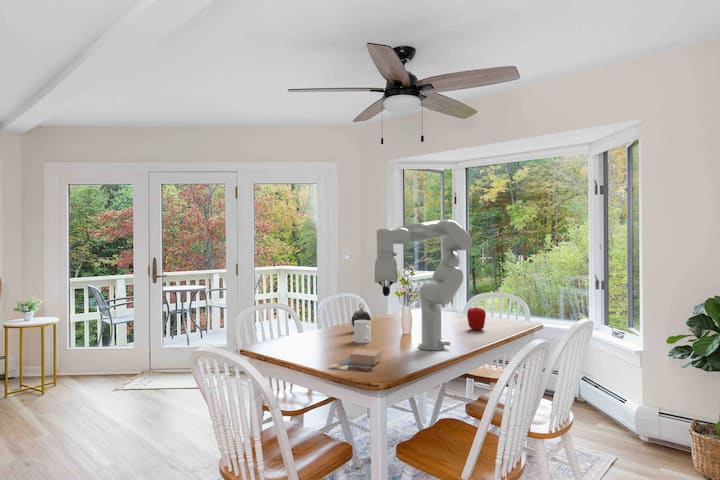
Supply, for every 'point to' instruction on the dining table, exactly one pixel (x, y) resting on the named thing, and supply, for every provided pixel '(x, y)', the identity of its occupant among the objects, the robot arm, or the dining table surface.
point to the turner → (350, 367)
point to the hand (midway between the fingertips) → (386, 295)
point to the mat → (347, 362)
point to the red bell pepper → (476, 318)
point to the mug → (362, 331)
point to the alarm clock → (360, 315)
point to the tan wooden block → (365, 356)
